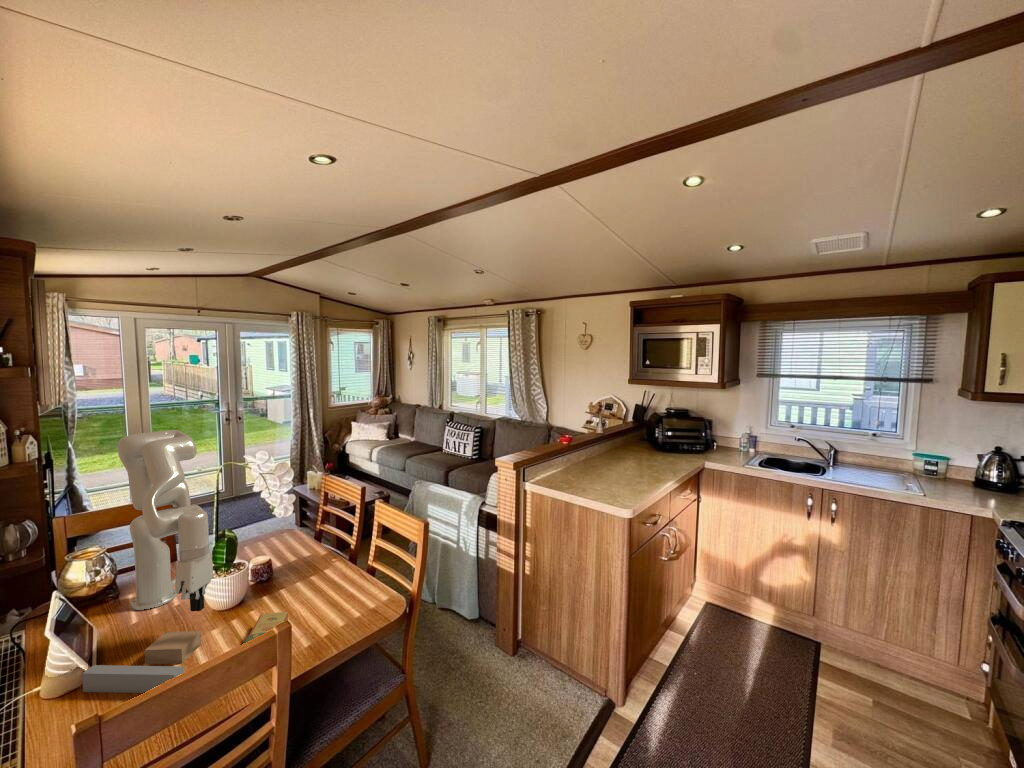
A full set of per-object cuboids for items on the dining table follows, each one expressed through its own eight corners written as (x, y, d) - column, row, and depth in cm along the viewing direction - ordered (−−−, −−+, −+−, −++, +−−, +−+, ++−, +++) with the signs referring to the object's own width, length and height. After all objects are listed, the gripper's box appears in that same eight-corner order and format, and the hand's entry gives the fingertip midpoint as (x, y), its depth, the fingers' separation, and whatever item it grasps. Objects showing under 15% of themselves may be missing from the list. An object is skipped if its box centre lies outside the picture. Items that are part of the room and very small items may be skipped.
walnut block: (166, 646, 128) (166, 631, 128) (201, 645, 129) (200, 631, 128) (145, 665, 120) (144, 650, 120) (182, 664, 121) (181, 649, 120)
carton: (288, 623, 140) (288, 610, 140) (273, 656, 124) (273, 642, 124) (260, 626, 138) (260, 613, 138) (241, 660, 122) (241, 646, 122)
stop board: (94, 683, 113) (93, 665, 113) (184, 684, 113) (183, 666, 112) (83, 692, 110) (82, 673, 110) (175, 693, 110) (174, 674, 110)
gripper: (200, 542, 139) (203, 596, 140) (162, 563, 124) (165, 624, 125) (223, 541, 139) (225, 596, 140) (187, 562, 124) (191, 624, 125)
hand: (197, 609), depth 133 cm, fingers closed
